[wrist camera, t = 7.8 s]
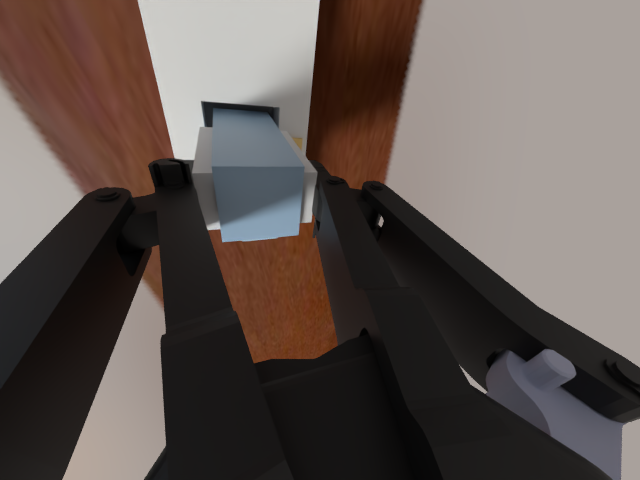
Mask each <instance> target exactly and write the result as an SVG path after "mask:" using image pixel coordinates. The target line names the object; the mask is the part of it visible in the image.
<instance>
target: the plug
mask: <svg viewBox="0 0 640 480" xmlns="http://www.w3.org/2000/svg"><path fill="white" fill-rule="evenodd" d="M211 167H212V174H213V181H214V187H215V194H216V201H217V208H218V215H219V222H220V228H221V235H222V242H229V241H240V240H242V241H252V240H263V239H274V238H277V237H283V236H294V235H298V233H299V222H300V211H301V200H302V190H303V179H304V168H305V166H304V165H303V163H302V162H301V161H300V159H299V158H298V156H297V155H296V153H295V152H294V150H293V149H292V147H291V146H290V144H289V143H288V141H287V140H286V139H285V137H284V136H283V134H282V133H281V131H280V130H279V128H278V127H277V125H276V124H275V122H274V121H273V119H272V118H271V117H270V115H269V114H268V112H260V111H246V110H232V109H218V108H213V130H212V164H211Z"/></svg>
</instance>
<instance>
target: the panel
mask: <svg viewBox="0 0 640 480" xmlns="http://www.w3.org/2000/svg"><path fill="white" fill-rule="evenodd" d="M319 2H320V0H138V3H139V8H140V12H141V16H142V20H143V25H144V29H145V33H146V37H147V42H148V46H149V50H150V54H151V59H152V63H153V67H154V71H155V76H156V80H157V84H158V88H159V93H160V97H161V101H162V105H163V110H164V114H165V118H166V122H167V127H168V131H169V135H170V139H171V144H172V148H173V152H174V156H175V159H182V160H194V158H195V153H196V147H197V141H198V135H199V129H200V127H213V108H218V109H232V110H246V111H260V112H268V114H269V115H270V117H271V118H272V119H273V121H274V122H275V124H276V125H277V127H278V128H279V130H280V131H287V132H288V134H289V135H290V136H291V138H292V139H293V140H294V142H295V143H296V144H297V146H298V147H299V148H300V150H301V151H302V152H303V154H304V155H306V144H307V133H308V122H309V111H310V100H311V89H312V78H313V67H314V56H315V45H316V34H317V23H318V13H319Z"/></svg>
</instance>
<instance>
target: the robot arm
mask: <svg viewBox="0 0 640 480" xmlns="http://www.w3.org/2000/svg"><path fill="white" fill-rule="evenodd" d="M212 130H213V127H200V129H199V135H198V141H197V147H196V153H195V158H194V160H182V159H175V158H167V159H159V160H156V161H153V162H151V163H150V164H149V166H148V167H149V170H150V173H151V177H152V180H153V183H154V186H155V193H153V194H150V195H146V196H141V197H135V198H132V195H131V192H130V191H129V190H127V189H124V188H115V187H114V188H109V187H106V188H103V189H102V188H100V189H97V190H95V191H93V192H90V193H88V194H87V195H85V196H84V197H83V198H82V199H81V200H80V201H79V202H78V203H77V204H76V205H75V206H74V208H73V209H72V210H71V211H70V212H69V213H68V214H67V215H66V216H65V217H64V218H63V219H62V220H61V221H60V222H59V223H58V224H57V225H56V226H55V227H54V228H53V230H51V232H50V233H49V234H48V235H47V236H46V237H45V238H44V239H43V240H42V241H41V242H40V243H39V244H38V245H37V246H36V247H35V248H34V250H32V251H31V253H29V255H28V256H27V257H26V258H25V259H24V260H23V261H22V262H21V263H20V264H19V265H18V266H17V267H16V268H15V269H14V270H13V271H12V272H11V273H10V274H9V275H8V276H7V277H6V279H5V280H4V281H3V282H2V283H1V284H0V480H62V479H63V476H64V474H65V472H66V469H67V467H68V464H69V462H70V459H71V457H72V454H73V452H74V449H75V446H76V444H77V441H78V439H79V436H80V434H81V431H82V428H83V426H84V423H85V421H86V418H87V416H88V413H89V411H90V408H91V405H92V403H93V400H94V398H95V395H96V393H97V390H98V388H99V385H100V382H101V380H102V377H103V375H104V372H105V370H106V367H107V365H108V362H109V360H110V357H111V354H112V352H113V349H114V346H115V344H116V342H117V339H118V337H119V334H120V331H121V329H122V326H123V324H124V321H125V319H126V316H127V314H128V311H129V308H130V306H131V302H132V301H133V298H134V296H135V293H136V290H137V288H138V285H139V283H140V280H141V278H142V275H143V273H144V270H145V268H146V265H147V262H148V260H149V257H150V255H151V252H152V248H151V247H153V246H156V245H159V248H160V261H161V274H162V286H163V299H164V312H165V324H166V334H164V335H162V337H161V364H162V380H163V399H164V416H165V432H166V433H165V434H166V447H165V448H164V450H163V451H162V453H161V454H160V456H159V457H158V459H157V461H156V462H155V463H154V465H153V467H152V468H151V470H150V471H149V473H148V474H147V476H146V477H145V479H144V480H621V451H622V449H621V448H622V426H623V425H624V424H626V423H628V422H632V421H634V420H637V419H640V368H639V367H638V366H636V365H635V364H633V363H632V362H631V361H629V360H628V359H626V358H625V357H623V356H621V355H619V354H618V353H616V352H614V351H613V350H611V349H609V348H607V347H605V346H604V345H602V344H601V343H599V342H597V341H595V340H594V339H592V338H590V337H589V336H587V335H585V334H584V333H582V332H580V331H579V330H577V329H575V328H573V327H572V326H570V325H568V324H567V323H565V322H563V321H562V320H560V319H558V318H556V317H555V316H553V315H551V314H549V313H548V312H546V311H544V310H543V309H541V308H539V307H538V306H537V305H535V304H534V303H533V302H531V301H530V300H529V299H528V298H526V297H525V296H524V295H523V294H521V293H520V292H519V291H518V290H516V289H515V288H514V287H513V286H511V285H510V284H509V283H508V282H506V281H505V280H504V279H503V278H501V277H500V276H499V275H498V274H496V273H495V272H494V271H492V270H491V269H490V268H489V267H488V266H486V265H485V264H484V263H483V262H481V261H480V260H479V259H477V258H476V257H475V256H474V255H472V254H471V253H470V252H469V251H468V250H466V249H465V248H464V247H463V246H461V245H460V244H459V243H458V242H456V241H455V240H454V239H453V238H451V237H450V236H449V235H447V234H446V233H445V232H444V231H443V230H441V229H440V228H439V227H437V226H436V225H435V224H434V223H433V222H431V221H430V220H429V219H428V218H426V217H425V216H424V215H423V214H421V213H420V212H419V211H418V210H416V209H415V208H414V207H413V206H411V205H410V204H409V203H407V202H406V201H405V200H403V199H402V198H401V197H400V196H399V195H397V194H396V193H395V192H394V191H393V190H391V189H390V188H389V187H387V186H386V185H384V184H382V183H380V182H378V181H377V182H376V181H367V182H364V183H363V186H362V190H359V189H352V188H349V186H348V184H347V182H346V181H345V180H344V179H342V178H339V177H336V176H331V175H330V174H329V172H328V171H327V170H326V169H325V168H324V166H323V165H322V164H321V163H319V162H317V161H316V160H308V159H307V158H306V156H305V155H304V154H303V152H302V151H301V150H300V148H299V147H298V146H297V144H296V143H295V142H294V140H293V139H292V138H291V136H290V135H289V134H288V132H287V131H281V133H282V134H283V136H284V137H285V139H286V140H287V141H288V143H289V144H290V146H291V147H292V149H293V150H294V152H295V153H296V155H297V156H298V158H299V159H300V161H301V162H302V163H303V165H304V166H305V168H304V179H303V190H302V200H301V211H300V222H299V223H306V222H311V220H312V212H313V214H314V216H315V223H314V230H313V238H315V235H316V238H317V242H318V247H319V252H320V257H321V262H322V267H323V272H324V277H325V282H326V286H327V291H328V296H329V301H330V306H331V311H332V316H333V321H334V326H335V331H336V335H337V341H338V346H337V347H335V348H333V349H332V350H330V351H328V352H327V353H325V354H323V355H322V356H320V357H318V358H315V359H270V360H266V361H262V362H258V363H253V360H252V357H251V354H250V351H249V348H248V345H247V342H246V339H245V336H244V333H243V330H242V326H241V323H240V320H239V318H238V315H237V313H236V311H233V308H232V305H231V302H230V299H229V295H228V292H227V289H226V286H225V283H224V280H223V277H222V273H221V270H220V267H219V264H218V261H217V258H216V255H215V252H214V248H213V245H212V242H211V239H210V236H209V233H208V230H214V229H221V228H220V222H219V215H218V208H217V201H216V194H215V187H214V181H213V174H212V167H211V164H212ZM381 216H382V217H383V220H384V222H383V225H382V227H380V226H379V225H378V223H379V220H380V217H381ZM459 365H460V366H461V367H462V368H463V369H464V370H465V371H466V372H467V373H468V374H469V375H470V376H471V377H472V378H473V379H474V380H475V381H476V382H477V383H478V384H479V385H481V386H482V387H483V388H484V389H485V390H486V391H487V393H486V394H484V393H483V392H481V391H480V390H478V389H476V388H475V387H473V386H472V385H470V383H469V382H468V380H467V378H466V376H465V375H464V373H463V371H462V369H461V368H460V366H459Z"/></svg>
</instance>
